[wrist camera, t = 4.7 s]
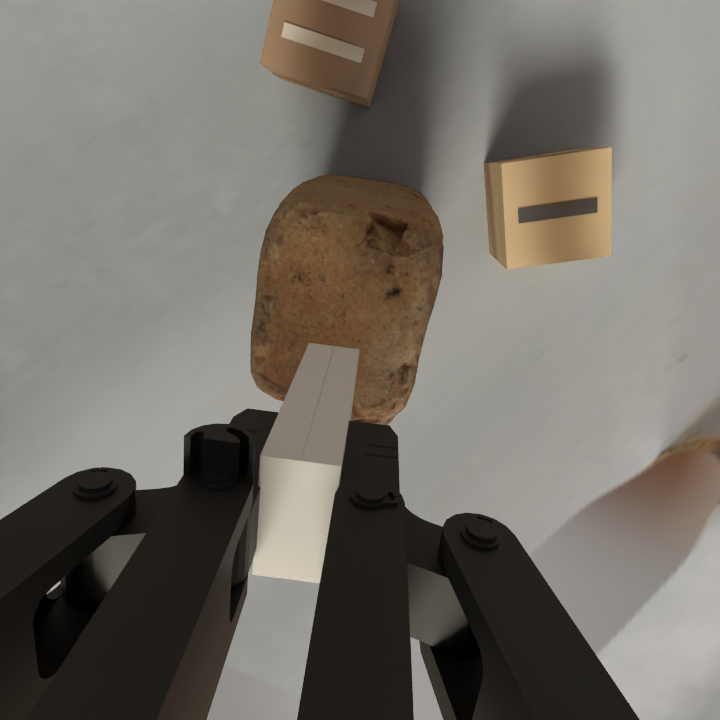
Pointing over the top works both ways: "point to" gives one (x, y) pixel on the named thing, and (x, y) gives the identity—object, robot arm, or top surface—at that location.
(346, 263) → the block
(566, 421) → the top surface
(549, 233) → the cube one stripe
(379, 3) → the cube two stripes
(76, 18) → the top surface
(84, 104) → the top surface
